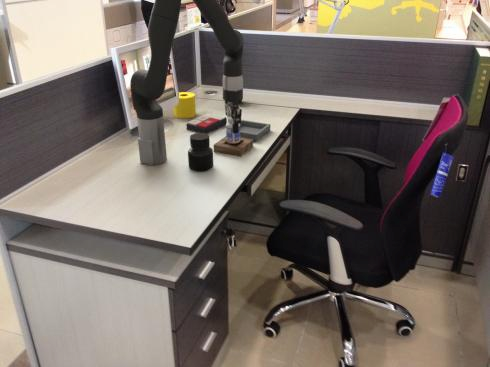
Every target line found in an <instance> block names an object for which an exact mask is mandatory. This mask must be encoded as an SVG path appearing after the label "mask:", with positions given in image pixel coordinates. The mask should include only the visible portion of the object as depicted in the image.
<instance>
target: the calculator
mask: <svg viewBox="0 0 490 367" xmlns="http://www.w3.org/2000/svg"><path fill="white" fill-rule="evenodd" d="M227 120H228V119H227V116H226V117H225V116H223V115H219V114H215V113H214V114H213V113H209V112H207V113H204V114H203V115H200V116H198V117H195V118H194V119H192V120H190V121H188V122H187V123H186V126H185V127H186V130H188V131H192V132H195V133H206V134H208V135H209V134H210V133H212V132H215V131H216V130H219V129H220V128H223V127H226V123H227V122H228V121H227Z"/></svg>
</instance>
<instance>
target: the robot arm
mask: <svg viewBox="0 0 490 367" xmlns="http://www.w3.org/2000/svg"><path fill="white" fill-rule="evenodd" d="M192 2H193V3H194V4H195V6H196V8H197V9H198V10H199V12H200V14H201V15H202V16H203V18H204V20H205V21H206V23H207V24H208V25H209V27H210V28H211V29H212V32H213V34H214V35H215V37H216V39H217V41H218V43H219V45H220V46H221V47H222V49H223V50H224V58H223V61H222V62H223V63H222V100H223V101H224V108H225V116H226V118H227V120H228V117H229V116H230V117H231V118H232V123H233V124H232V129H233V133H238V132H239V124H241V120H242V116H243V115H242V114H243V113H242V112H243V109H242V108H240V104H238V102H239V101H241V100H242V101H243V100H244V79H243V52H244V37H243V34H242V33H241V32H240V31H239V30H237V29H234V27H233V26H232V24H231V23H230V21H229V16H228V14H227V13H226V12H225V9H224V8H223V6H222V5H221V3H220V2H219V1H218V0H192ZM181 6H182V0H154V3H153V6H152V9H151V13H150V17H149V22H148V27H147V36H148V41H149V47H150V48H149V49H150V54H151V55H150V62H149V67H148V70H146V69H138V70H136V71H134V72H133V74H132V75H131V79H130V94H131V98H132V99H131V101H132V106H133V109H134V111H135V113H136V118H137V128H138V139H137V145H138V153H139V160H140V164H144V165H149V166H156V165H162V164H163V163H165V162H167V160H168V159H167V145H166V133H165V121H164V110H163V107H162V106H161V105H160V104H159V103H158V102H157V100H158V99H160V98H161V97H162V95H163V94H164V91H165V90H166V85H167V78H168V72H169V71H168V70H169V64H170V63H169V62H170V58H171V53H172V48H173V43H174V39H175V37H176V36H175V35H176V32H177V29H178V24H179V19H180V14H181V13H180V11H181ZM236 119H237V121H236Z"/></svg>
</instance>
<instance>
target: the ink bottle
mask: <svg viewBox="0 0 490 367" xmlns="http://www.w3.org/2000/svg"><path fill="white" fill-rule="evenodd" d="M210 142H211V141H210V134H209V133H208V134H206V133H198V132H195V133H191V135H189V143H190V148H188V150H187V159H188V160H187V161H188V168H189V170H191V171H193V172H197V173H198V172H199V173H202V172H203V173H204V172H207V171H210V170H212V169H213V168H214V149H212V147H210V145H211V144H210Z"/></svg>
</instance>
